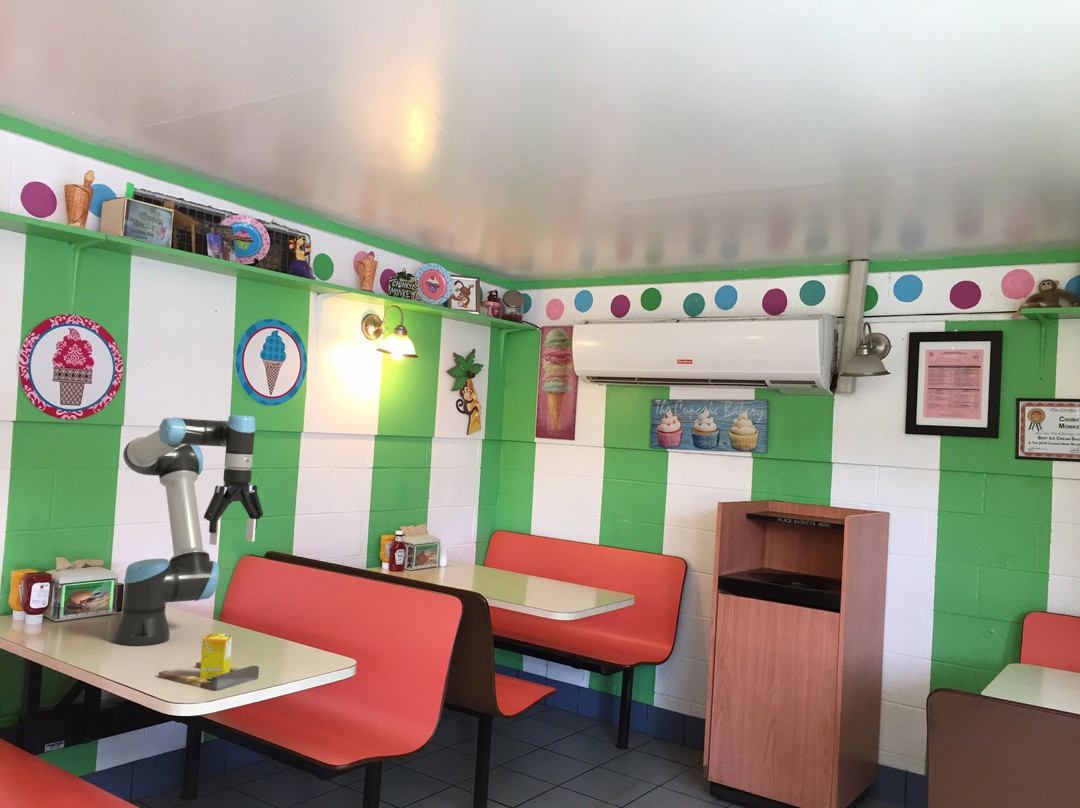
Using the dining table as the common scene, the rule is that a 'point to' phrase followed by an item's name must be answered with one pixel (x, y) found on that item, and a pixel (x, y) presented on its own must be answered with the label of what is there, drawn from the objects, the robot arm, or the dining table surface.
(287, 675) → the dining table surface
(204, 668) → the supplement box
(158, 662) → the dining table surface
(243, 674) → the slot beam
